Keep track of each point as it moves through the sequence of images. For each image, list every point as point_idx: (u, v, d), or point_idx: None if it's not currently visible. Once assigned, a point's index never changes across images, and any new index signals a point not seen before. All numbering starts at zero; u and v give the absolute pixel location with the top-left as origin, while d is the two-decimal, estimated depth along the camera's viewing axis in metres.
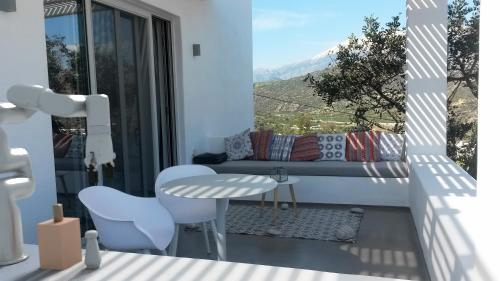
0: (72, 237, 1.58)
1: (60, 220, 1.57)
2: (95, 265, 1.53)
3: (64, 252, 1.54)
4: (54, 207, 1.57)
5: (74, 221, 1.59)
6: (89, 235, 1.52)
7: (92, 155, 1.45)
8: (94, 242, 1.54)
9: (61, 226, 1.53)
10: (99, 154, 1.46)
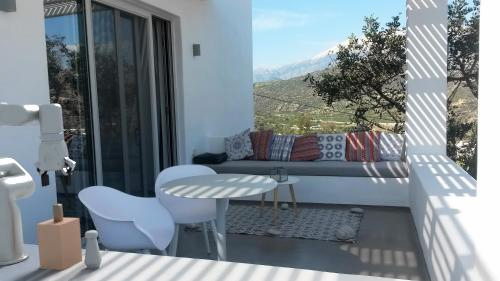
0: (72, 237, 1.58)
1: (60, 220, 1.57)
2: (95, 265, 1.53)
3: (64, 252, 1.54)
4: (54, 207, 1.57)
5: (74, 221, 1.59)
6: (89, 235, 1.52)
7: None
8: (94, 242, 1.54)
9: (61, 226, 1.53)
10: None
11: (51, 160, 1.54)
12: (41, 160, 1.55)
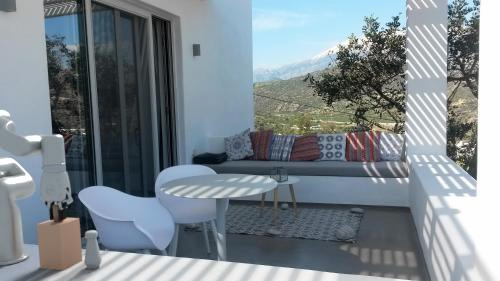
0: (72, 237, 1.58)
1: None
2: (95, 265, 1.53)
3: (64, 252, 1.54)
4: (54, 207, 1.57)
5: (74, 221, 1.59)
6: (88, 235, 1.52)
7: None
8: (94, 242, 1.54)
9: (61, 226, 1.53)
10: None
11: (53, 191, 1.55)
12: (43, 191, 1.56)
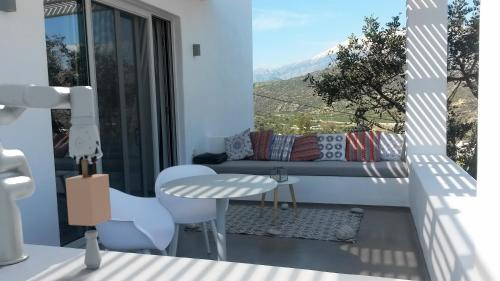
0: (102, 193, 1.53)
1: None
2: (95, 265, 1.53)
3: (94, 207, 1.49)
4: (83, 161, 1.51)
5: (103, 177, 1.54)
6: (89, 235, 1.52)
7: None
8: (94, 242, 1.54)
9: (91, 180, 1.47)
10: None
11: (82, 144, 1.49)
12: (72, 144, 1.51)
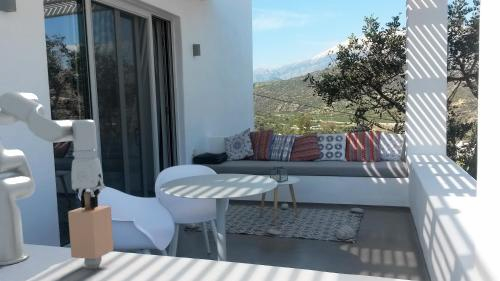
0: (104, 225, 1.53)
1: (92, 208, 1.53)
2: (95, 265, 1.53)
3: (97, 240, 1.49)
4: (86, 194, 1.52)
5: (106, 209, 1.54)
6: None
7: None
8: None
9: (94, 213, 1.48)
10: None
11: (85, 178, 1.50)
12: (74, 177, 1.51)
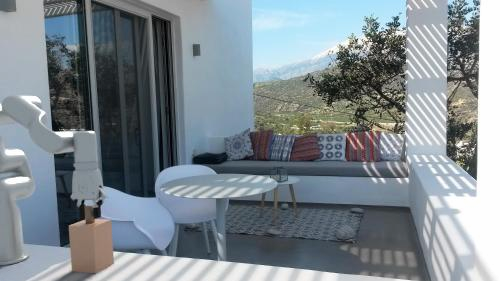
0: (105, 239, 1.54)
1: (92, 222, 1.53)
2: None
3: (97, 254, 1.50)
4: (86, 208, 1.52)
5: (106, 223, 1.55)
6: None
7: None
8: None
9: (94, 228, 1.49)
10: None
11: (86, 189, 1.50)
12: (75, 189, 1.52)
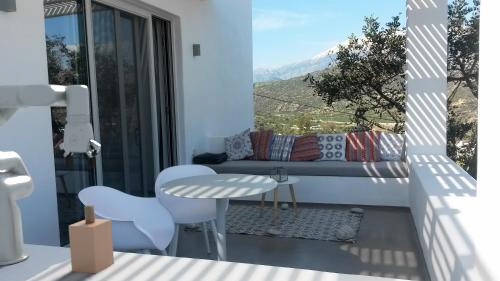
0: (105, 239, 1.54)
1: (92, 222, 1.53)
2: None
3: (97, 254, 1.50)
4: (86, 208, 1.52)
5: (106, 223, 1.55)
6: None
7: None
8: None
9: (94, 228, 1.49)
10: None
11: (76, 142, 1.53)
12: (66, 141, 1.55)
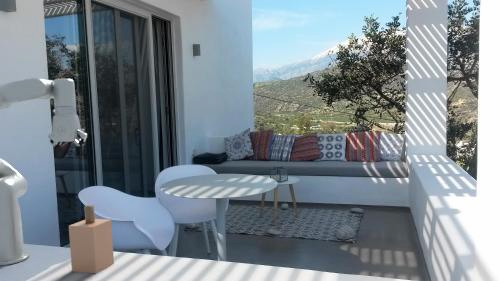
0: (105, 239, 1.54)
1: (92, 222, 1.53)
2: None
3: (97, 254, 1.50)
4: (86, 208, 1.52)
5: (106, 223, 1.55)
6: None
7: None
8: None
9: (94, 228, 1.49)
10: None
11: (64, 131, 1.63)
12: (55, 132, 1.65)
